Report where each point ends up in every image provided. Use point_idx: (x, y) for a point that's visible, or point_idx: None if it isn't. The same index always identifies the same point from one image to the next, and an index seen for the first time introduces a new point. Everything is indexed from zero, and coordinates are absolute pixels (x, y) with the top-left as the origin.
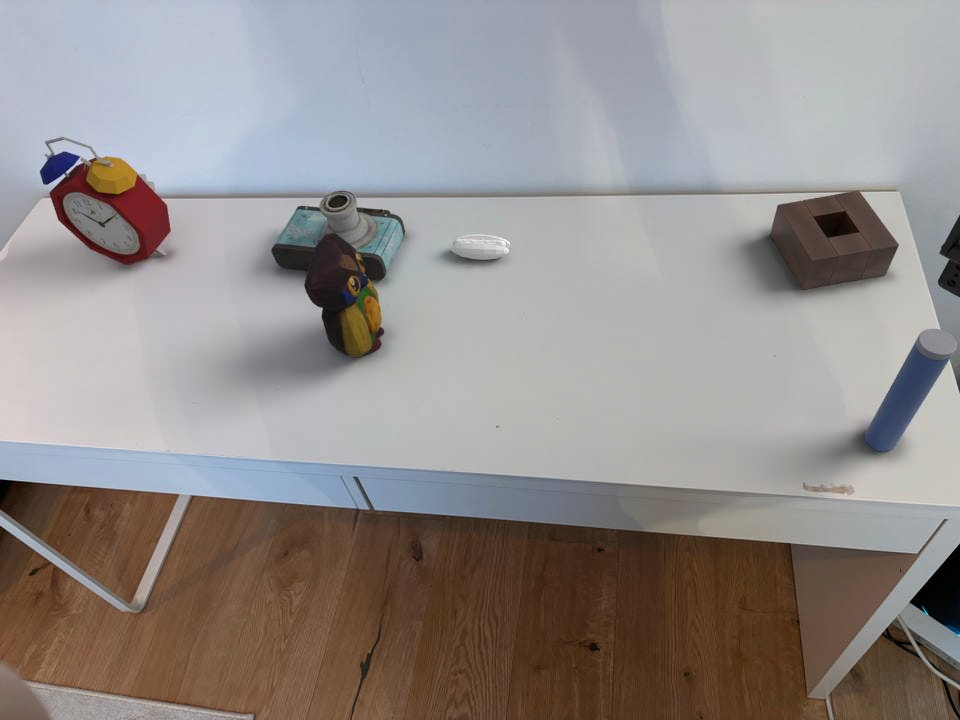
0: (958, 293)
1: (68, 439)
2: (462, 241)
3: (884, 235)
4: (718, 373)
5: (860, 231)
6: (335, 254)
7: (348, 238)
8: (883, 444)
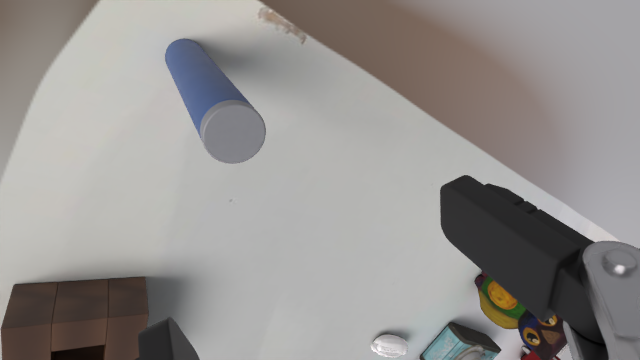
0: (496, 186)
1: (612, 236)
2: (403, 351)
3: (15, 345)
4: (295, 194)
5: (49, 352)
6: (559, 344)
7: (474, 356)
8: (200, 47)
